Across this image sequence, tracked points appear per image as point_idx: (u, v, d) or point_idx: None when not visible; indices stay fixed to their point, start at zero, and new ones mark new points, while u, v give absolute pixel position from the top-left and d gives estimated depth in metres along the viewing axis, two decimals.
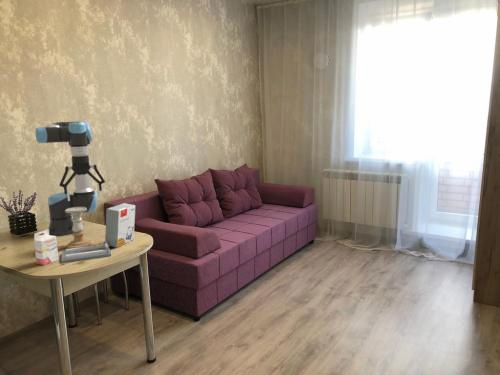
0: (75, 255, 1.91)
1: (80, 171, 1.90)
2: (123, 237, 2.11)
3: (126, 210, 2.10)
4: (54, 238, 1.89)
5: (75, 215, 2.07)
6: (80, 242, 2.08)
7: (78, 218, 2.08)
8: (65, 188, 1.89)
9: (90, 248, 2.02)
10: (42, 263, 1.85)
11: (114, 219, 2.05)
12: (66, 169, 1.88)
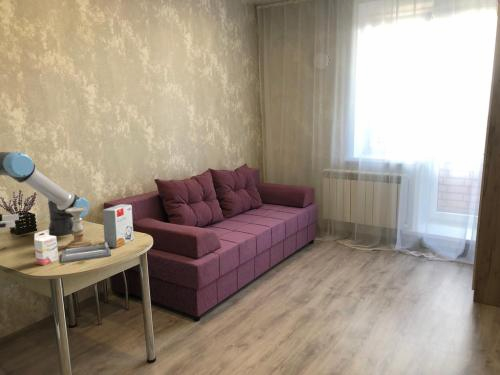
0: (75, 255, 1.91)
1: None
2: (122, 237, 2.11)
3: (122, 210, 2.10)
4: (54, 238, 1.89)
5: (75, 215, 2.07)
6: (80, 242, 2.08)
7: (78, 218, 2.08)
8: None
9: (90, 248, 2.02)
10: (42, 263, 1.85)
11: (111, 219, 2.05)
12: None
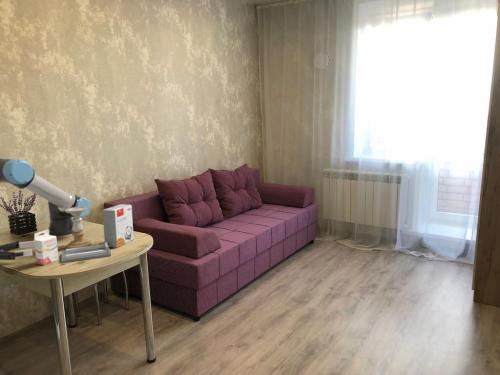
0: (75, 255, 1.91)
1: None
2: (122, 237, 2.11)
3: (122, 210, 2.10)
4: (54, 238, 1.89)
5: (75, 215, 2.07)
6: (80, 242, 2.08)
7: (78, 218, 2.08)
8: None
9: (90, 248, 2.02)
10: (42, 263, 1.85)
11: (111, 219, 2.05)
12: None
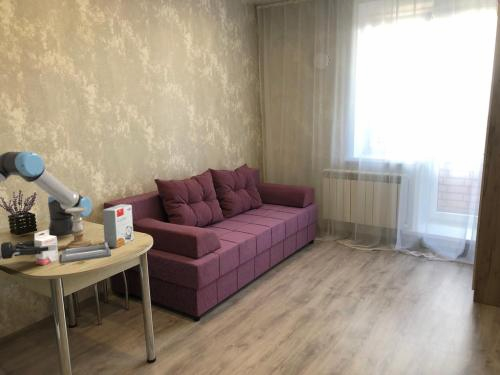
0: (75, 255, 1.91)
1: None
2: (122, 237, 2.11)
3: (122, 210, 2.10)
4: (54, 238, 1.89)
5: (75, 215, 2.07)
6: (80, 242, 2.08)
7: (78, 218, 2.08)
8: None
9: (90, 248, 2.02)
10: (42, 263, 1.85)
11: (111, 219, 2.05)
12: None
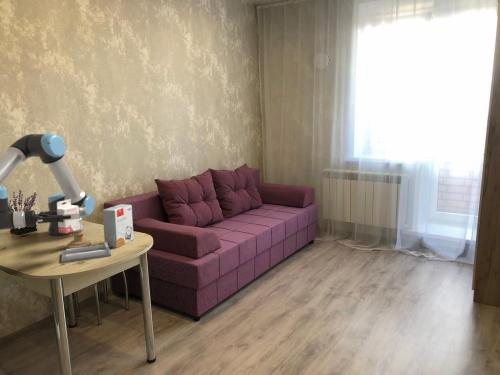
0: (75, 255, 1.91)
1: None
2: (122, 237, 2.11)
3: (122, 210, 2.10)
4: (76, 207, 1.91)
5: None
6: (80, 242, 2.08)
7: None
8: None
9: (90, 248, 2.02)
10: (64, 231, 1.87)
11: (111, 219, 2.05)
12: None
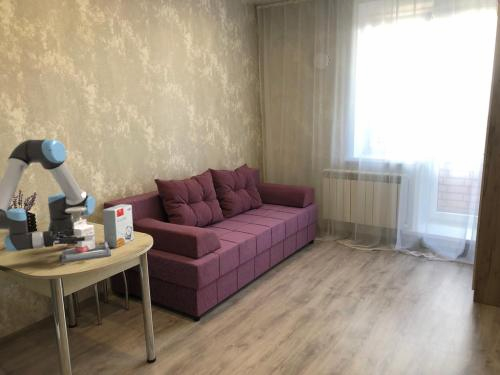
0: (75, 255, 1.91)
1: None
2: (122, 237, 2.11)
3: (122, 210, 2.10)
4: (92, 227, 1.97)
5: (75, 215, 2.07)
6: None
7: (78, 218, 2.08)
8: None
9: None
10: (81, 251, 1.92)
11: (111, 219, 2.05)
12: None
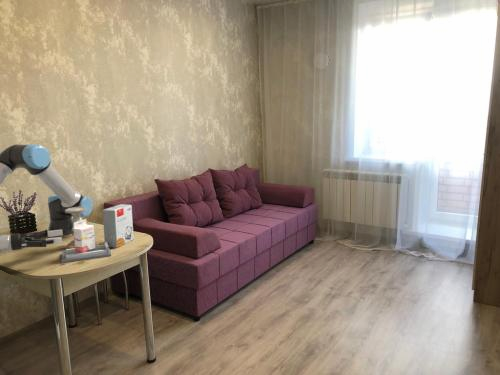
0: (75, 255, 1.91)
1: None
2: (122, 237, 2.11)
3: (122, 210, 2.10)
4: (92, 227, 1.97)
5: (75, 215, 2.07)
6: None
7: (78, 218, 2.08)
8: None
9: None
10: (81, 251, 1.92)
11: (111, 219, 2.05)
12: None
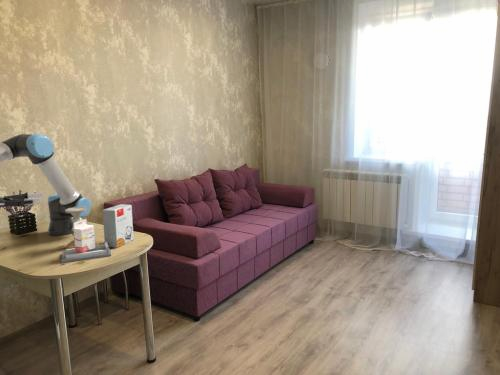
0: (75, 255, 1.91)
1: None
2: (122, 237, 2.11)
3: (122, 210, 2.10)
4: (92, 227, 1.97)
5: (75, 215, 2.07)
6: None
7: (78, 218, 2.08)
8: None
9: None
10: (81, 251, 1.92)
11: (111, 219, 2.05)
12: None
